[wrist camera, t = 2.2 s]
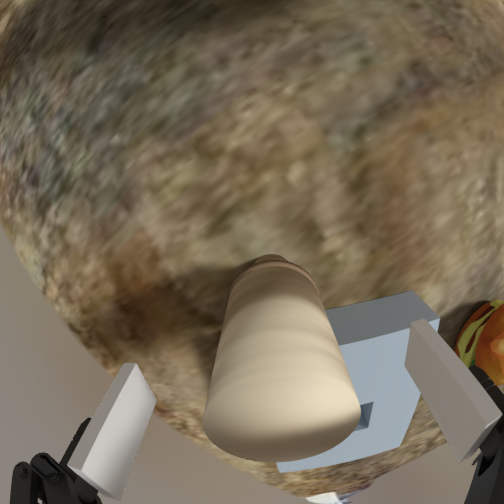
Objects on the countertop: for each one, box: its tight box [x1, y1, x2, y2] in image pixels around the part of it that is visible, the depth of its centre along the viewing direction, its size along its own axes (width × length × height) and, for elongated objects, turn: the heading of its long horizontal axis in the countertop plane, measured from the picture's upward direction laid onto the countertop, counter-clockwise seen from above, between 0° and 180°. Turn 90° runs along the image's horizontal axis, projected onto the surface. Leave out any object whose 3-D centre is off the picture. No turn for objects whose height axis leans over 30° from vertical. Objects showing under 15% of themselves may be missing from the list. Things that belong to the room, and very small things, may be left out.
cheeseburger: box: [455, 300, 504, 386], centre depth 19 cm, size 10×11×10 cm
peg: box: [203, 254, 361, 462], centre depth 15 cm, size 6×6×14 cm
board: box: [276, 290, 440, 473], centre depth 23 cm, size 20×15×5 cm
